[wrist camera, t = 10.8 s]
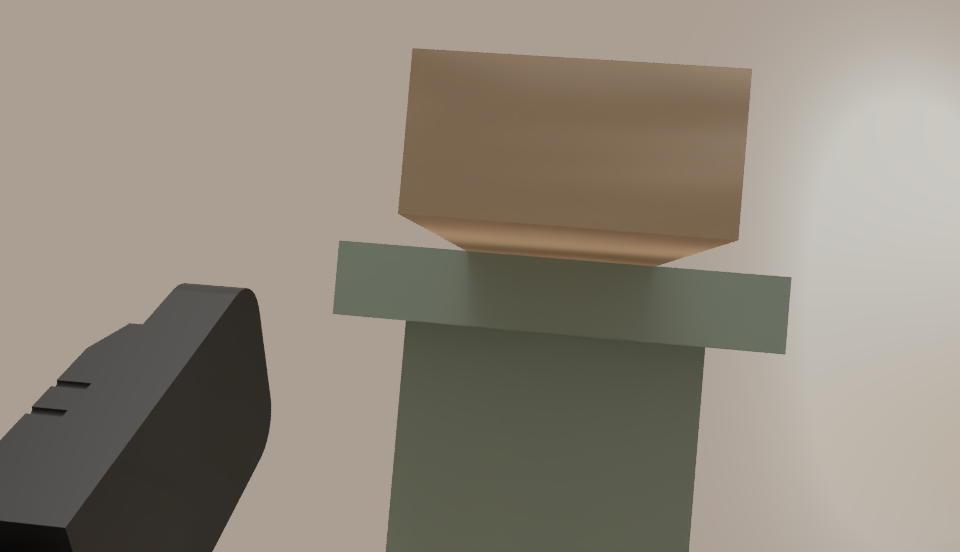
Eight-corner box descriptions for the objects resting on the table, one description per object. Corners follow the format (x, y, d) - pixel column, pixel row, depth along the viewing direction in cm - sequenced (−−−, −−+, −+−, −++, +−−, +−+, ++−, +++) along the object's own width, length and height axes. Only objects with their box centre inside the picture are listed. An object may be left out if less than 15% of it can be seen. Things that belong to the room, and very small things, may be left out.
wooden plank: (505, 272, 40) (509, 220, 40) (609, 280, 40) (613, 228, 40) (397, 213, 13) (412, 48, 13) (737, 240, 12) (752, 68, 12)
